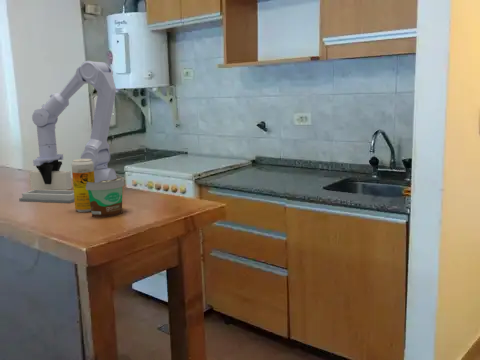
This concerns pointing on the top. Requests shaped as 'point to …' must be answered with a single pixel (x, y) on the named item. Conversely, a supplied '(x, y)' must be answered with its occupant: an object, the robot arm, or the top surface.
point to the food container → (106, 197)
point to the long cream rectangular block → (59, 181)
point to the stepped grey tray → (48, 196)
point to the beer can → (82, 183)
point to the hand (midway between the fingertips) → (51, 183)
